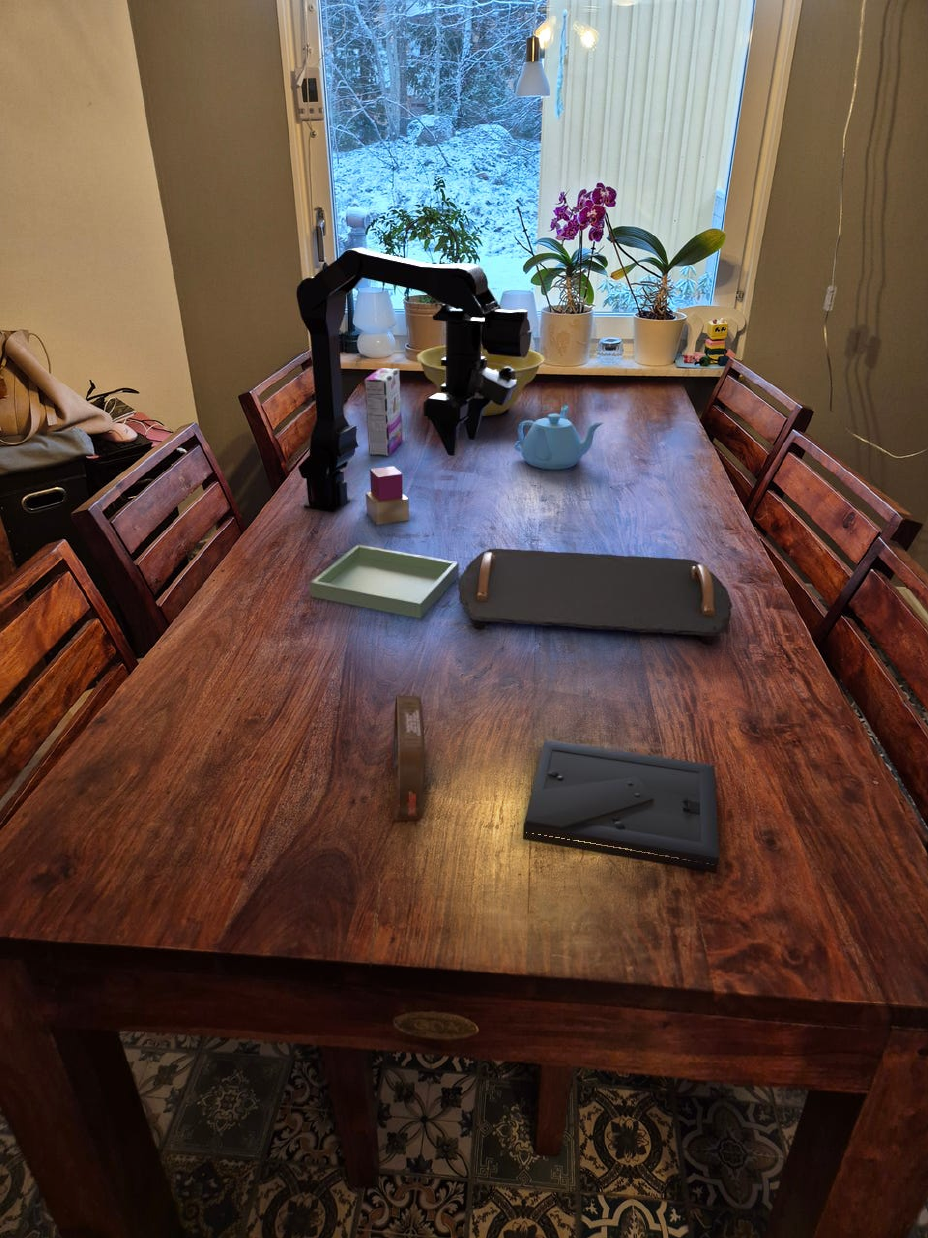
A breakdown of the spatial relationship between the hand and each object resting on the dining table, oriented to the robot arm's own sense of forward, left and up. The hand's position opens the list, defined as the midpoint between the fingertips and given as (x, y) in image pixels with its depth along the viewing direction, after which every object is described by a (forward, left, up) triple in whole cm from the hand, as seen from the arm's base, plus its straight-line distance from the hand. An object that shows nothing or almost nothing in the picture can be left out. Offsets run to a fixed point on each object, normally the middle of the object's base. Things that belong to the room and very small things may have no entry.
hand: (461, 447), depth 137 cm
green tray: (-2, -26, -14) cm, 30 cm away
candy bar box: (-32, +35, -14) cm, 50 cm away
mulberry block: (-14, -1, -10) cm, 17 cm away
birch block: (-14, -1, -14) cm, 20 cm away
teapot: (+6, +40, -14) cm, 43 cm away
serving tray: (+28, -20, -14) cm, 37 cm away
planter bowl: (-24, +74, -14) cm, 79 cm away
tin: (+20, -66, -14) cm, 70 cm away
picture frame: (+41, -61, -14) cm, 75 cm away
